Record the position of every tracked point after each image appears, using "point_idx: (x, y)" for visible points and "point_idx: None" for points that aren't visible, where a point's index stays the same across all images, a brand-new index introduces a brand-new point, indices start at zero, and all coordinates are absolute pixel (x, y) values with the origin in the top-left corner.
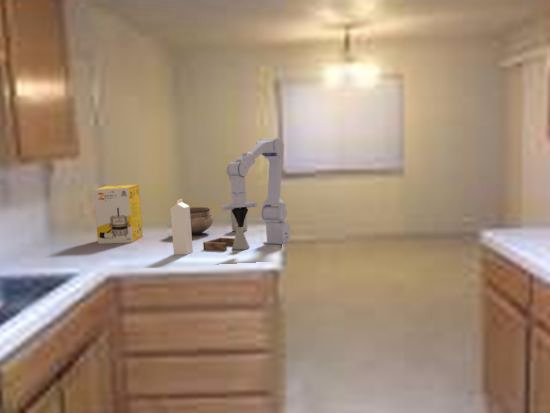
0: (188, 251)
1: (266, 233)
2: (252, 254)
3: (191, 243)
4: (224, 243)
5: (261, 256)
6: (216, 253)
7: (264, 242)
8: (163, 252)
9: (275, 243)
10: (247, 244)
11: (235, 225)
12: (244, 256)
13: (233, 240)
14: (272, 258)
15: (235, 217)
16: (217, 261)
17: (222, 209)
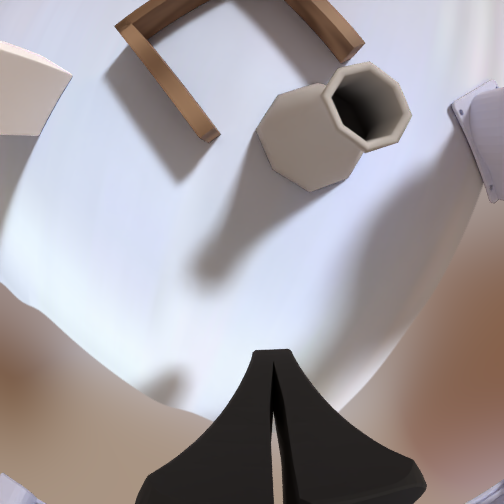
0: (37, 123)
1: (497, 102)
2: (287, 343)
3: (42, 75)
4: (197, 134)
5: None
6: (141, 191)
7: (458, 114)
8: None
9: (481, 174)
10: (353, 167)
11: (320, 98)
12: (236, 360)
13: (317, 15)
14: None
15: (219, 424)
16: (115, 369)
17: (15, 496)
